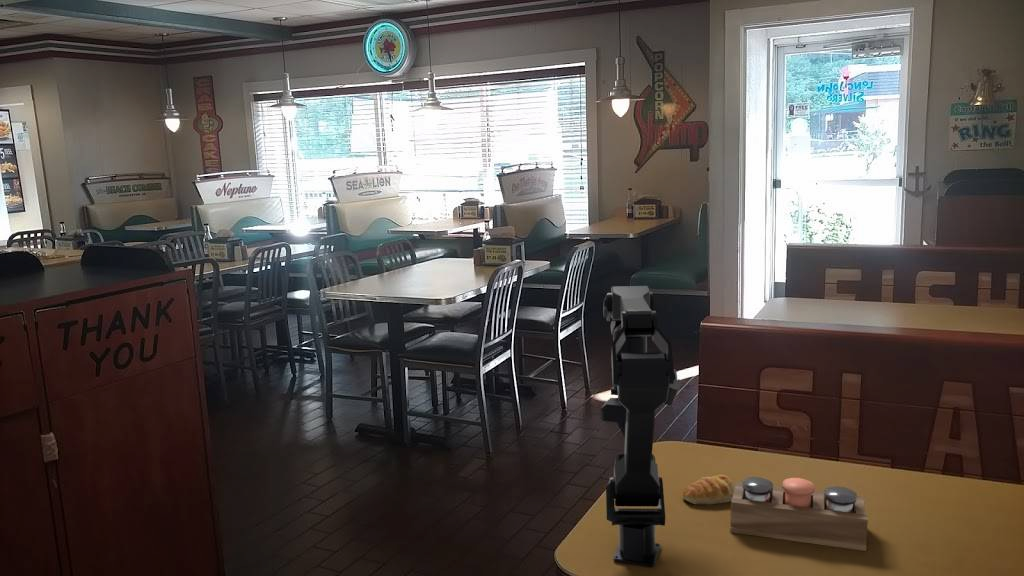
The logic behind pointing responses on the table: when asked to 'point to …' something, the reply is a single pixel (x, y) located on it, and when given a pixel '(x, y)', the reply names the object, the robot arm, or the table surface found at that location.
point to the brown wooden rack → (799, 520)
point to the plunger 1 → (757, 489)
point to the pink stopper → (798, 492)
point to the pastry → (710, 490)
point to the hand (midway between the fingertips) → (630, 443)
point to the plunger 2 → (840, 499)
